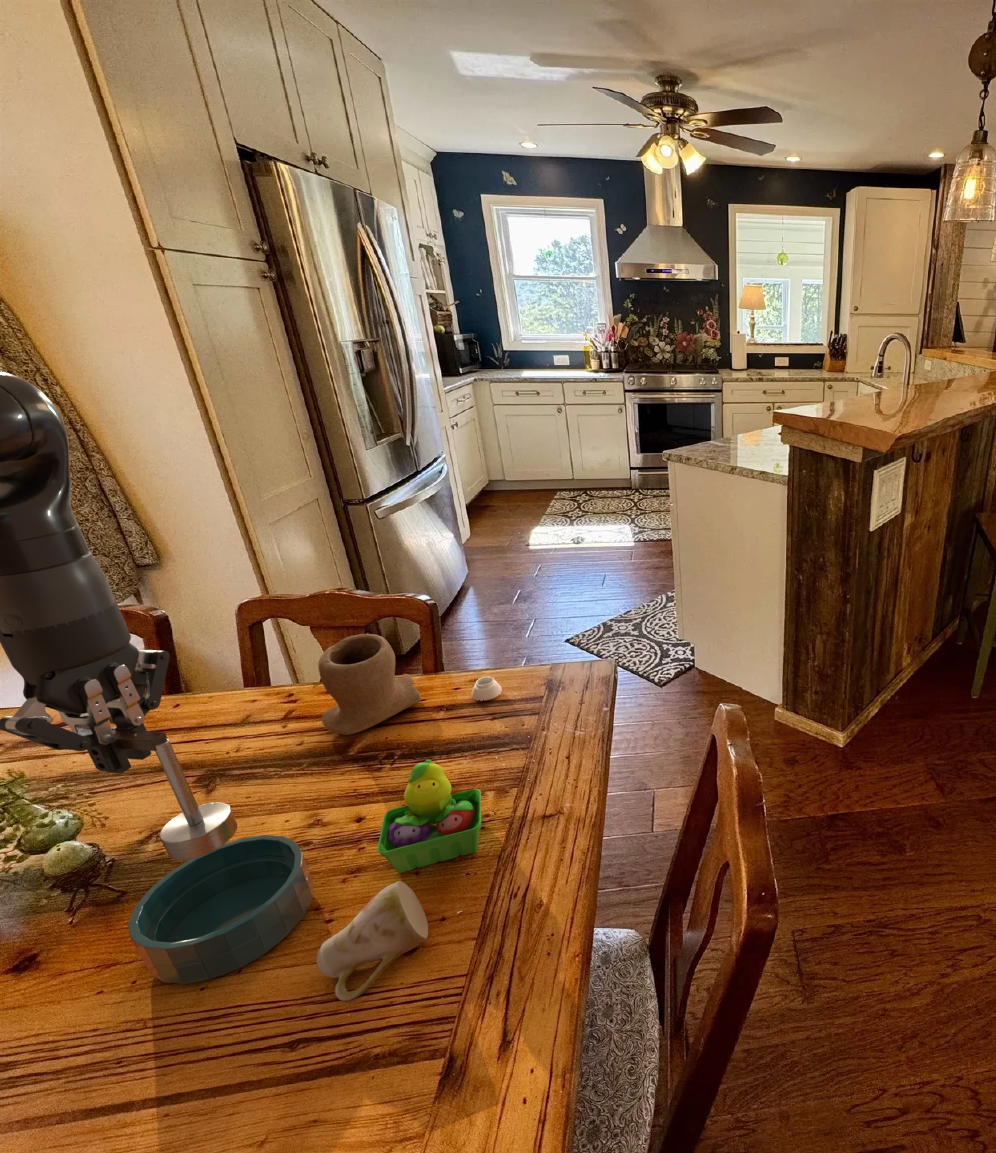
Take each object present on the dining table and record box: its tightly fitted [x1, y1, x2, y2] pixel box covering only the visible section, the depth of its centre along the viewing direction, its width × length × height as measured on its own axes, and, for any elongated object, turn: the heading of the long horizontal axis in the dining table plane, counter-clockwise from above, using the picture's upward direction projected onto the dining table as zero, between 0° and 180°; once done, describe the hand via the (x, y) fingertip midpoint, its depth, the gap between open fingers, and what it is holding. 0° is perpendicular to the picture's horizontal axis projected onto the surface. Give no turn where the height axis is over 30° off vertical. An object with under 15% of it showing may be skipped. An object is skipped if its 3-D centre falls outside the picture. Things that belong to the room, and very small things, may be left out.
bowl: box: [127, 834, 315, 985], centre depth 68 cm, size 14×14×6 cm
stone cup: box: [317, 633, 423, 736], centre depth 103 cm, size 15×12×15 cm
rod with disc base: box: [111, 728, 238, 861], centre depth 62 cm, size 12×6×13 cm, turn 86°
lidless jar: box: [471, 676, 503, 702], centre depth 111 cm, size 5×3×5 cm
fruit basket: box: [377, 759, 482, 874], centre depth 78 cm, size 11×9×11 cm
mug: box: [316, 880, 429, 1002], centre depth 65 cm, size 8×10×10 cm
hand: (128, 763), depth 61 cm, fingers closed on rod with disc base, 1 cm apart
